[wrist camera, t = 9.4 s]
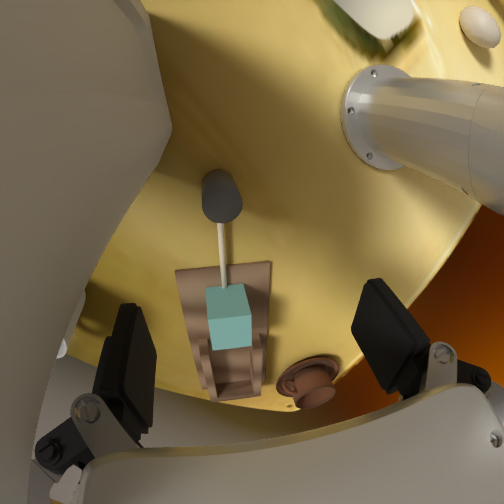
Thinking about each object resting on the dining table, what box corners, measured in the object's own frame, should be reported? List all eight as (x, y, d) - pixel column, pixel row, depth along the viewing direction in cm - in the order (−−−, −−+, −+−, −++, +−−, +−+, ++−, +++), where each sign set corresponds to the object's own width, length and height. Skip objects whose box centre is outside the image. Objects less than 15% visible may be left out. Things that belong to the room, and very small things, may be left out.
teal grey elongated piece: (193, 171, 25) (192, 188, 20) (240, 168, 26) (250, 183, 21) (209, 318, 34) (212, 350, 30) (244, 314, 35) (251, 345, 30)
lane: (175, 270, 31) (173, 288, 28) (269, 260, 32) (276, 277, 29) (202, 387, 43) (203, 403, 40) (264, 379, 45) (268, 395, 42)
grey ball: (478, 55, 21) (510, 58, 15) (452, 33, 20) (486, 33, 14) (476, 23, 18) (506, 24, 12) (450, 0, 16) (482, -3, 11)
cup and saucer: (268, 392, 48) (275, 418, 43) (281, 354, 42) (291, 385, 37) (324, 384, 51) (333, 408, 45) (344, 347, 45) (358, 373, 40)
